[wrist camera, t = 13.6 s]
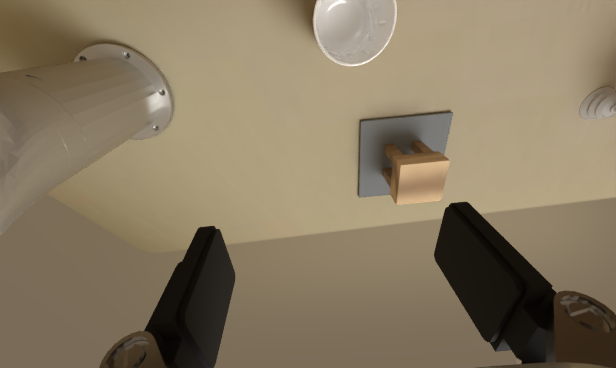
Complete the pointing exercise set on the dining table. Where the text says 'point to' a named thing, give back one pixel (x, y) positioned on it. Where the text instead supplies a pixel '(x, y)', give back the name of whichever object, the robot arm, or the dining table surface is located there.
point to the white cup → (353, 28)
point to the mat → (402, 135)
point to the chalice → (599, 104)
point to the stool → (415, 174)
